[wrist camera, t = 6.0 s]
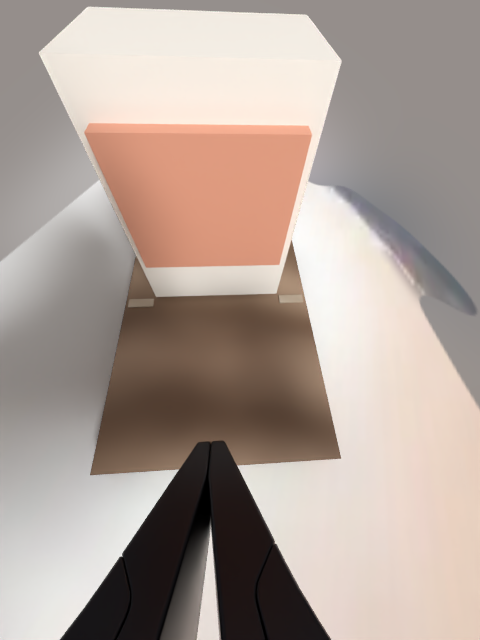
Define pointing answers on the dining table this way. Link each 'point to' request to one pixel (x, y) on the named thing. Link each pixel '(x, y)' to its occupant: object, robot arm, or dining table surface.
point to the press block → (199, 135)
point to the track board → (215, 380)
